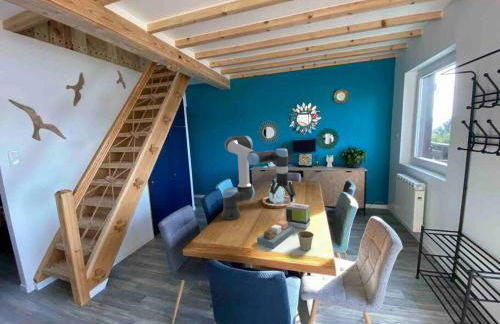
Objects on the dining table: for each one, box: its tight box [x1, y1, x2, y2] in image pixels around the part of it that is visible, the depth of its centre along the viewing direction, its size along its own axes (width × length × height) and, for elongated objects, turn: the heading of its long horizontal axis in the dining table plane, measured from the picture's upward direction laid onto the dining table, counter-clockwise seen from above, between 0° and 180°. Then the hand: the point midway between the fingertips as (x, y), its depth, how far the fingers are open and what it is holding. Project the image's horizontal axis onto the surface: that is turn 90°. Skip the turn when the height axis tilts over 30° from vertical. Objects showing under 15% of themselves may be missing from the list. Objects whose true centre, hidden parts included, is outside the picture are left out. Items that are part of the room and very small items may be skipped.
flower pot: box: [297, 230, 315, 251], centre depth 139 cm, size 9×9×9 cm
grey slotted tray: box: [256, 223, 295, 250], centre depth 154 cm, size 12×26×4 cm, turn 141°
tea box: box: [285, 202, 311, 230], centre depth 172 cm, size 15×10×15 cm, turn 59°
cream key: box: [270, 224, 282, 235], centre depth 153 cm, size 5×5×4 cm
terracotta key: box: [277, 220, 288, 230], centre depth 159 cm, size 5×5×4 cm
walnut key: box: [263, 228, 275, 240], centre depth 147 cm, size 5×5×4 cm
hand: (282, 204), depth 157 cm, fingers open, 11 cm apart
